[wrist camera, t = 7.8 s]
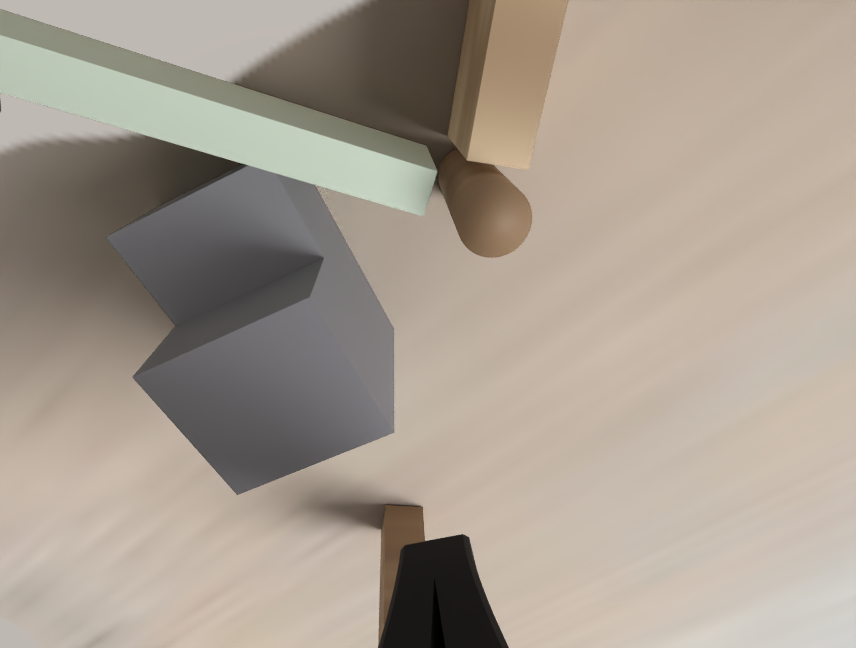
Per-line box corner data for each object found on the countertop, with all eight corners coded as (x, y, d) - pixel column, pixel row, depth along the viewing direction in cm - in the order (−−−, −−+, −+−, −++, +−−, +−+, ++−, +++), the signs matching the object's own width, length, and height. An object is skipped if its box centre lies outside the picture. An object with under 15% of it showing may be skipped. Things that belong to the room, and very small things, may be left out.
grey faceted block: (290, 139, 13) (235, 177, 8) (393, 327, 15) (394, 432, 11) (159, 205, 13) (40, 274, 9) (280, 375, 16) (237, 494, 11)
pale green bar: (426, 146, 12) (437, 171, 9) (407, 210, 13) (411, 253, 10) (-41, -4, 11) (-223, -36, 7) (-33, 81, 11) (-197, 85, 8)
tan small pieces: (473, -56, 11) (519, -128, 7) (534, -43, 11) (614, -106, 7) (381, 530, 19) (378, 652, 15) (417, 533, 19) (423, 654, 15)
